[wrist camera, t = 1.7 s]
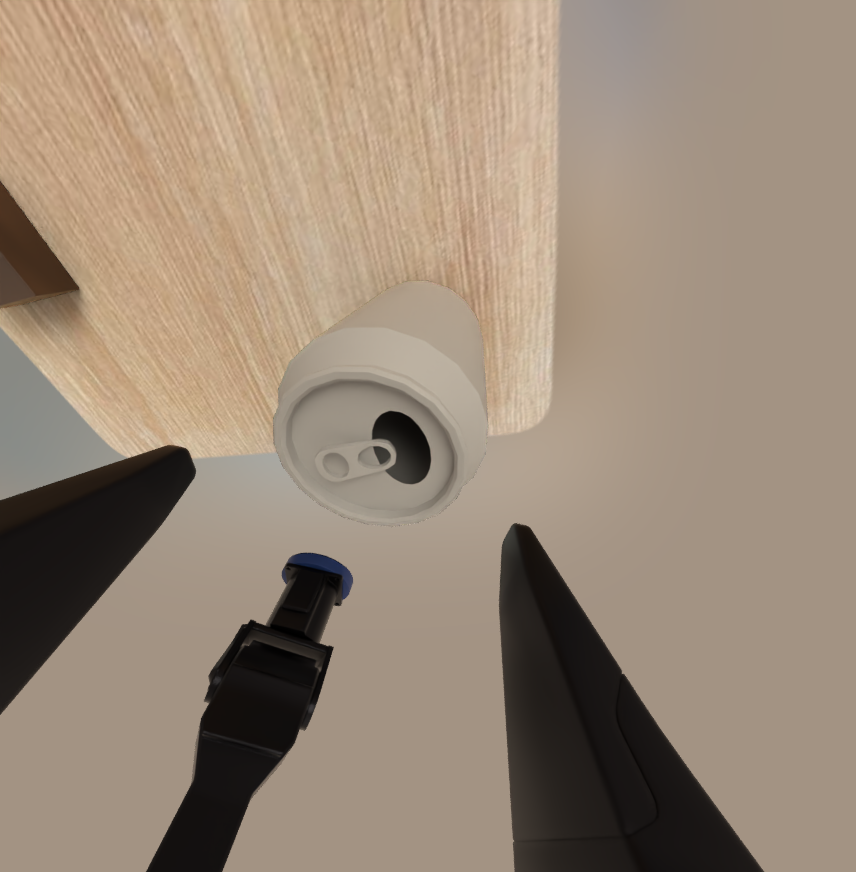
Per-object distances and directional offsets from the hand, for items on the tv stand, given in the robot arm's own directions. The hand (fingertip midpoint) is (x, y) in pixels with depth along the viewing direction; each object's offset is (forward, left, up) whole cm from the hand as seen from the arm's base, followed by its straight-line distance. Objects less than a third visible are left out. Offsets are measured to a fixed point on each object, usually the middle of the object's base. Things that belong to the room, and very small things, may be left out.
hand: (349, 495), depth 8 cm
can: (0, 0, -14) cm, 14 cm away
